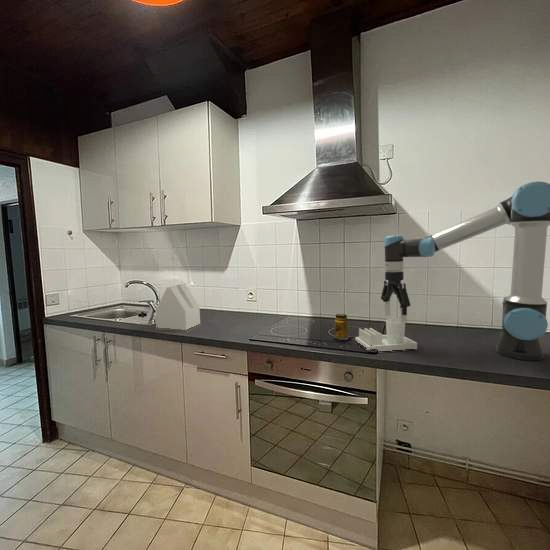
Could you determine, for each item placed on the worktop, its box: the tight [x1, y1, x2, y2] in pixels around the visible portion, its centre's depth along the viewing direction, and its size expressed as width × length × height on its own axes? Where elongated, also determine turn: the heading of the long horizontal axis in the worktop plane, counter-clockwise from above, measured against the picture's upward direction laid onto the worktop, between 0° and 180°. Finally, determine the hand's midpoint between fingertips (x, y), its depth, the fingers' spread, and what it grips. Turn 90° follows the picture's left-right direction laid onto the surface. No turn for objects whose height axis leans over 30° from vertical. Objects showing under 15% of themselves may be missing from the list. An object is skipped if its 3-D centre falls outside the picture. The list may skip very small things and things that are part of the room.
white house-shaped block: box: [155, 283, 201, 330], centre depth 179 cm, size 19×15×25 cm
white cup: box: [385, 318, 406, 344], centre depth 136 cm, size 8×8×10 cm
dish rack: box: [354, 327, 418, 352], centre depth 137 cm, size 14×22×7 cm, turn 98°
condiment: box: [334, 313, 349, 338], centre depth 149 cm, size 7×8×12 cm
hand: (394, 318), depth 136 cm, fingers open, 13 cm apart
